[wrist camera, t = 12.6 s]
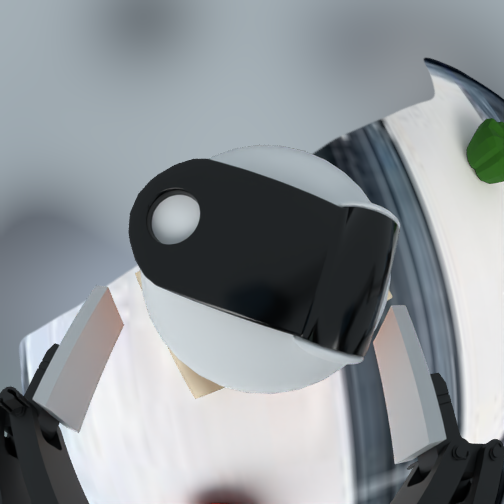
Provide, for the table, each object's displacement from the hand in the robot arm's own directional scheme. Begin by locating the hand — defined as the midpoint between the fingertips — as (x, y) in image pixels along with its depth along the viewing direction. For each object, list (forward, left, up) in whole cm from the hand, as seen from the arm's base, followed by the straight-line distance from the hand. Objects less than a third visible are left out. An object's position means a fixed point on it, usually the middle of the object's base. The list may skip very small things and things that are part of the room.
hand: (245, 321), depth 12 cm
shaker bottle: (-2, -1, -14) cm, 14 cm away
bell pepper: (-38, -2, -16) cm, 41 cm away
